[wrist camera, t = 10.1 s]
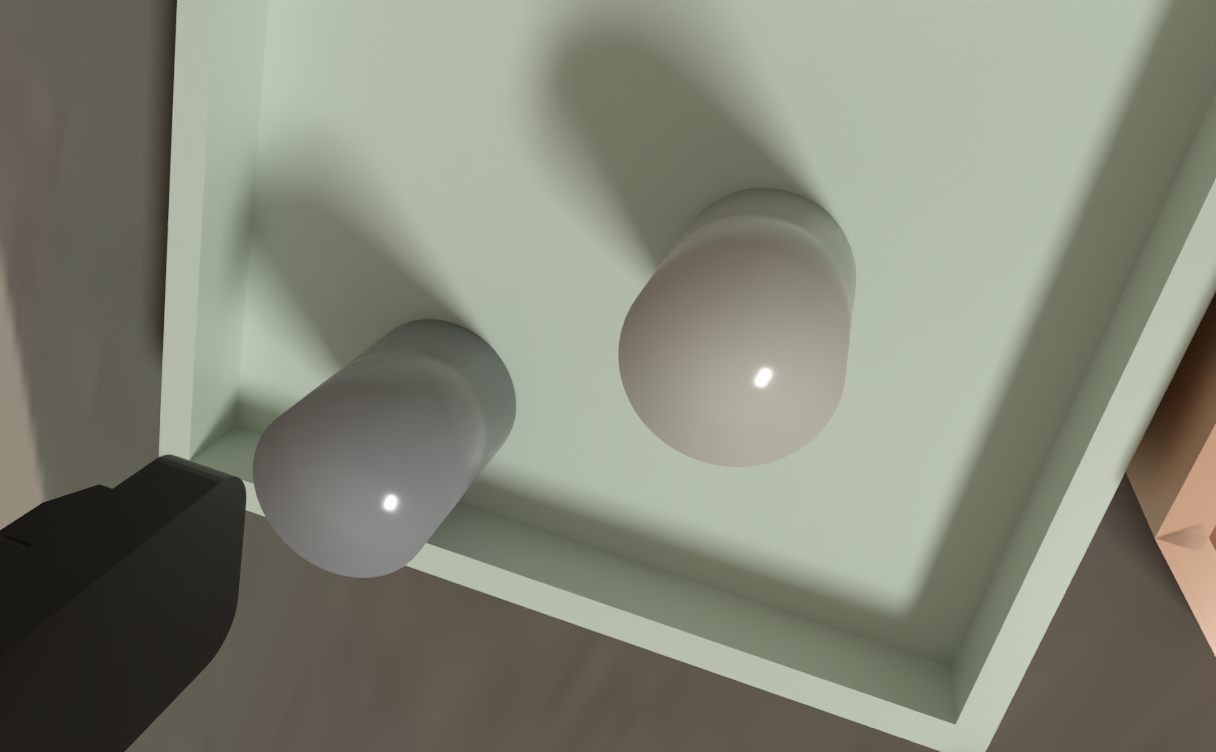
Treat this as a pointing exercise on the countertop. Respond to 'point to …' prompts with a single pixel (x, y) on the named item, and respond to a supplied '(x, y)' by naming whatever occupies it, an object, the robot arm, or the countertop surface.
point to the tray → (640, 241)
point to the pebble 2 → (743, 331)
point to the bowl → (1185, 474)
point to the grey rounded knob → (384, 448)
